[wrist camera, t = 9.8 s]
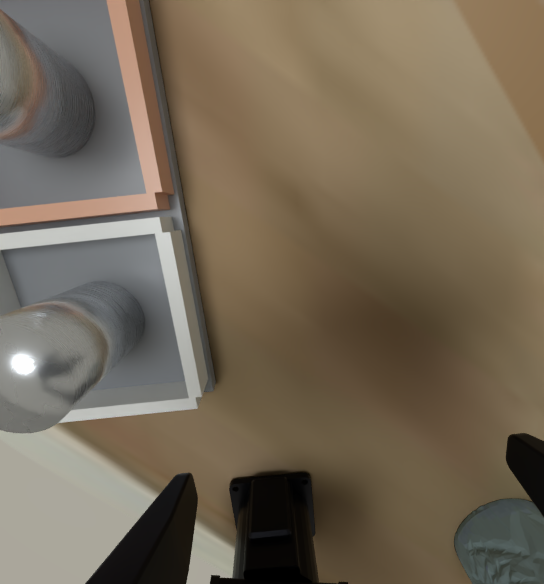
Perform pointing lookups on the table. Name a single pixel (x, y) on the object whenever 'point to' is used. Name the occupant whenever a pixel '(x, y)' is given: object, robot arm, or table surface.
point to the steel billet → (41, 96)
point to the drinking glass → (503, 543)
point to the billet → (62, 351)
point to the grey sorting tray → (110, 208)
